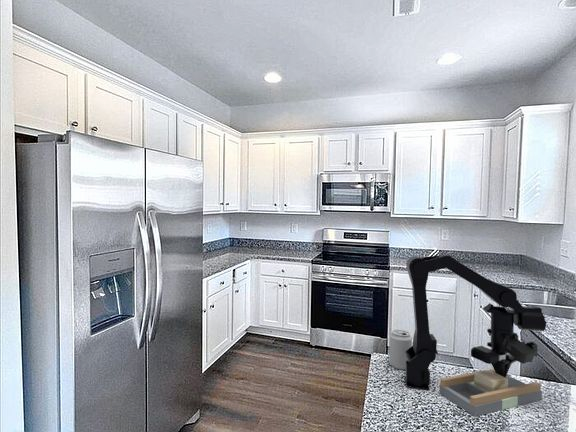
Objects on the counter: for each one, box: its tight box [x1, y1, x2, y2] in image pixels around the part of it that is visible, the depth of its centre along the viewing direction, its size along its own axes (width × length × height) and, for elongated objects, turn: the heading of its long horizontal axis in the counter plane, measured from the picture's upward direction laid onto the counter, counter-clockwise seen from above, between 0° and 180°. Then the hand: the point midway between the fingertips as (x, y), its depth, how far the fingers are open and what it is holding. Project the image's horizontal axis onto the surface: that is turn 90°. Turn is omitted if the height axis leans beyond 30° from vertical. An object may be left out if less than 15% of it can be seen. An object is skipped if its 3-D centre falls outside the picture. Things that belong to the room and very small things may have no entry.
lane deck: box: [438, 368, 543, 417], centre depth 96 cm, size 26×12×4 cm, turn 110°
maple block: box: [474, 369, 508, 392], centre depth 96 cm, size 6×6×4 cm
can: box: [388, 329, 413, 371], centre depth 115 cm, size 8×8×12 cm
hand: (501, 380), depth 98 cm, fingers closed
